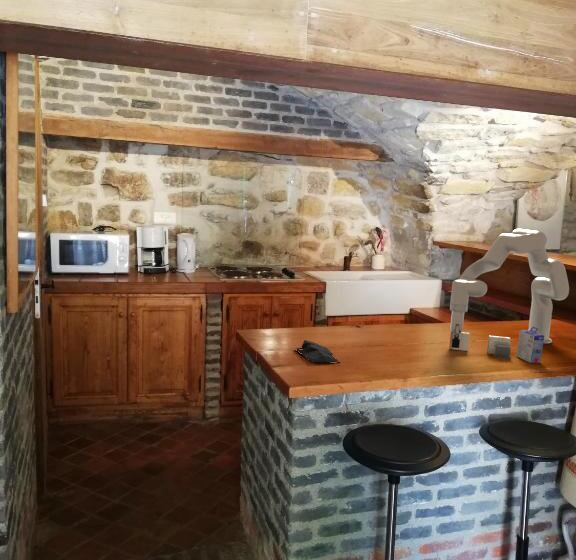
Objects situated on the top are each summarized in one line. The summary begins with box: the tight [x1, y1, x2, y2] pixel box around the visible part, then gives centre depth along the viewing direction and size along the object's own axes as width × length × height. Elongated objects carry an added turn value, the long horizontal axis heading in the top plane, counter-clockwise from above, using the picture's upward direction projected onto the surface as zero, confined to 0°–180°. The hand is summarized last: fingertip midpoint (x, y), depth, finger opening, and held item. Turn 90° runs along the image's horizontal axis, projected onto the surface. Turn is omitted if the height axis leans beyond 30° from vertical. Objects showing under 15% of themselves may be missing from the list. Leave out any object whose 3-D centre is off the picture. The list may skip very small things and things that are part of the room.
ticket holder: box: [486, 335, 512, 360], centre depth 252 cm, size 10×9×8 cm
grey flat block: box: [448, 331, 470, 352], centre depth 256 cm, size 2×8×8 cm, turn 75°
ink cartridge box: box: [515, 327, 544, 364], centre depth 245 cm, size 10×6×14 cm, turn 15°
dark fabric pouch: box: [296, 340, 339, 363], centre depth 239 cm, size 15×22×5 cm
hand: (455, 344), depth 257 cm, fingers open, 8 cm apart
